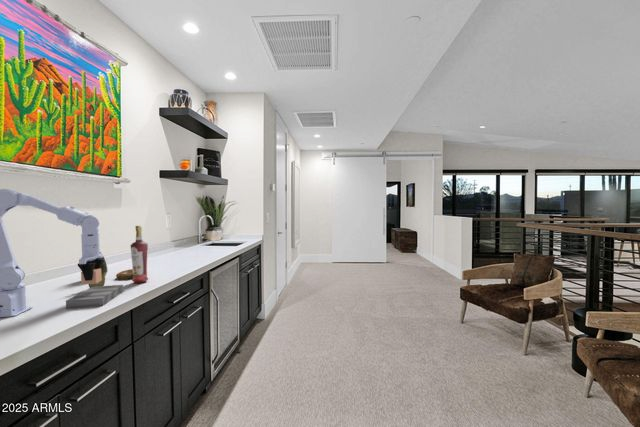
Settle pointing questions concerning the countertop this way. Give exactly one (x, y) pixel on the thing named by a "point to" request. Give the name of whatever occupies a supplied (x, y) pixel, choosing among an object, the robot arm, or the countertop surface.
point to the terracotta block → (95, 279)
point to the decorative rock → (125, 274)
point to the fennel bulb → (102, 278)
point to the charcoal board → (94, 296)
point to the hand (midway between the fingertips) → (92, 278)
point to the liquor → (139, 257)
